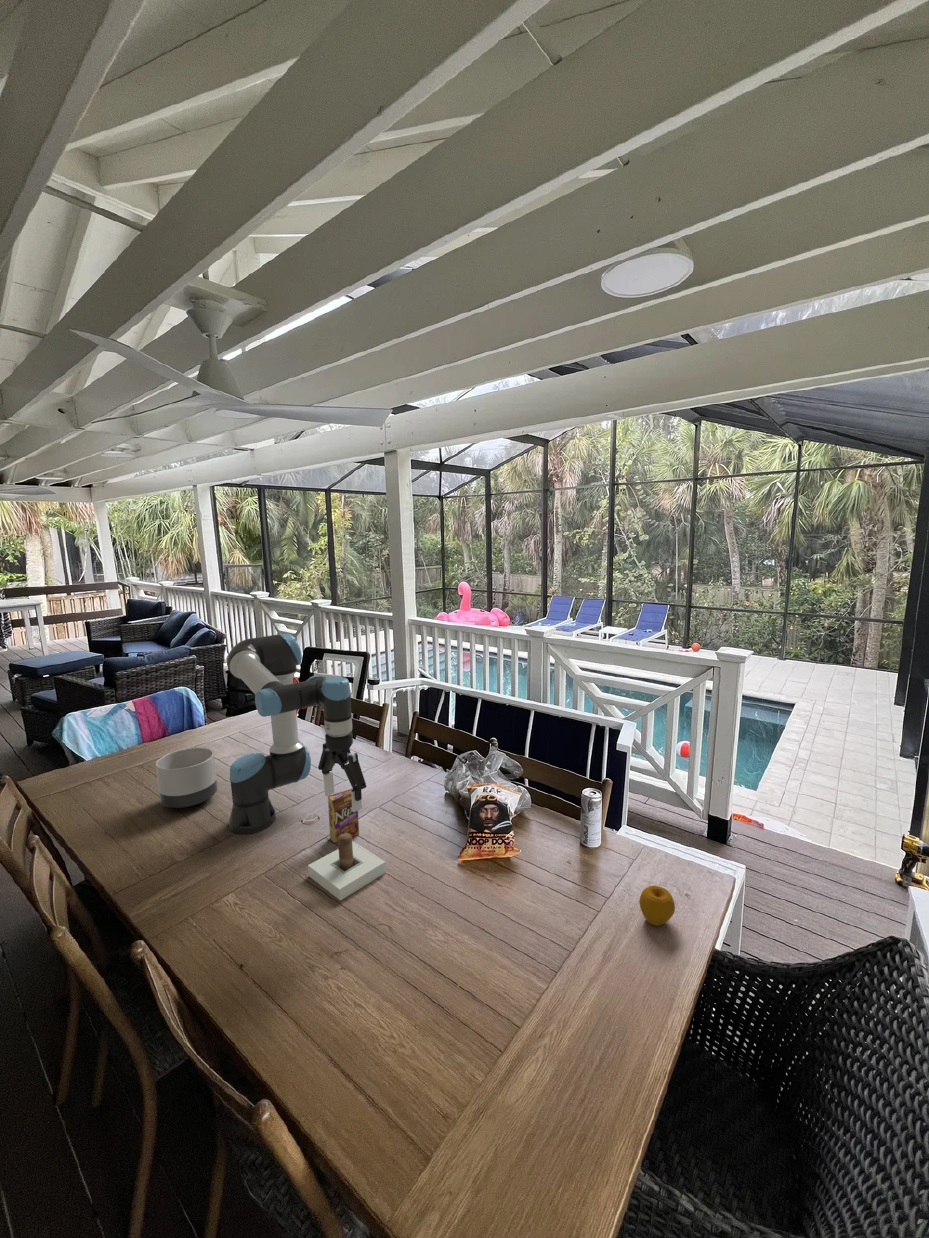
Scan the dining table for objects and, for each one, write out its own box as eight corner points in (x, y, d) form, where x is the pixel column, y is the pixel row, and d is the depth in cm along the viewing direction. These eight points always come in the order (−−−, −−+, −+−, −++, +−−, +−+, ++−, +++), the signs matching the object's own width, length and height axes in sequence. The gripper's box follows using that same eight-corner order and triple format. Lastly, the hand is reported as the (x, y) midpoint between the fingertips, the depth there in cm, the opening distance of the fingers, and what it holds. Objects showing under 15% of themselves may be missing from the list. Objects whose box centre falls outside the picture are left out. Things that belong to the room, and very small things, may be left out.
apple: (670, 939, 130) (671, 906, 128) (634, 926, 134) (636, 894, 133) (676, 917, 137) (678, 886, 136) (643, 905, 141) (644, 875, 140)
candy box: (334, 844, 172) (331, 800, 169) (329, 837, 175) (326, 795, 173) (360, 835, 177) (357, 792, 174) (355, 829, 180) (352, 787, 178)
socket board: (308, 875, 156) (307, 864, 156) (353, 851, 168) (352, 840, 167) (340, 900, 145) (339, 888, 145) (385, 872, 157) (385, 861, 156)
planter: (148, 809, 195) (143, 764, 192) (193, 786, 213) (188, 744, 210) (187, 819, 188) (181, 773, 185) (229, 794, 206) (225, 751, 203)
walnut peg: (337, 874, 157) (335, 837, 154) (348, 868, 159) (346, 831, 157) (345, 880, 154) (343, 842, 152) (356, 873, 157) (354, 836, 155)
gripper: (303, 725, 155) (308, 792, 159) (354, 748, 138) (358, 822, 142) (325, 718, 160) (329, 783, 164) (377, 739, 144) (380, 811, 147)
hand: (342, 801), depth 153 cm, fingers open, 13 cm apart
